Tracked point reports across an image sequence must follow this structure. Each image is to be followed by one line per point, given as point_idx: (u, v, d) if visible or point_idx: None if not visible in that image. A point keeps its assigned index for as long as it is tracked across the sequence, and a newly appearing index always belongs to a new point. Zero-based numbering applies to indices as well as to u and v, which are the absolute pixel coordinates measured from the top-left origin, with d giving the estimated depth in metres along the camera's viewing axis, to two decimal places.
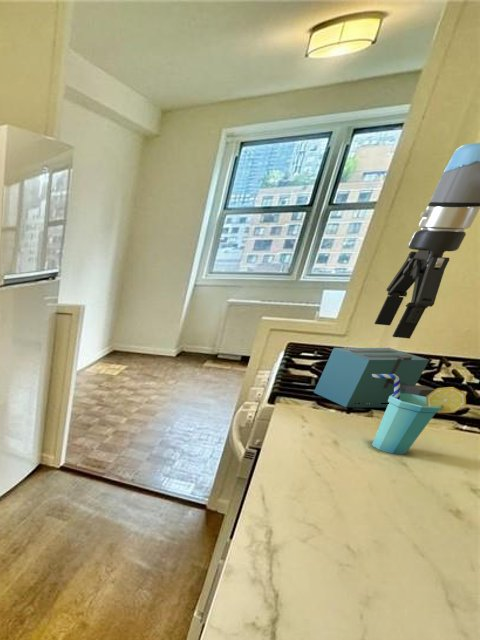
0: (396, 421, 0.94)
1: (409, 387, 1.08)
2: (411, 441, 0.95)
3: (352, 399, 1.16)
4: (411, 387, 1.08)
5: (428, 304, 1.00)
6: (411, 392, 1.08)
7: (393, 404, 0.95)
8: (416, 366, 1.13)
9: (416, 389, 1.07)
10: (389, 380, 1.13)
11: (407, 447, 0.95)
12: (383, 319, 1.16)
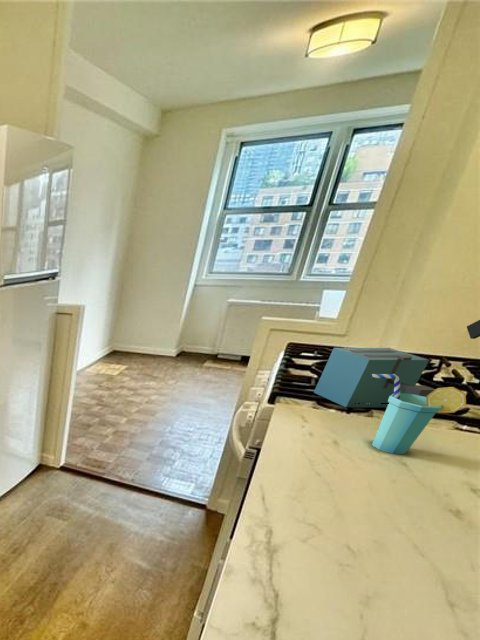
0: (395, 421, 0.94)
1: (409, 387, 1.08)
2: (411, 441, 0.95)
3: (352, 399, 1.16)
4: (411, 387, 1.08)
5: None
6: (411, 392, 1.08)
7: (393, 404, 0.95)
8: (416, 366, 1.13)
9: (416, 389, 1.07)
10: (389, 380, 1.13)
11: (407, 447, 0.95)
12: None
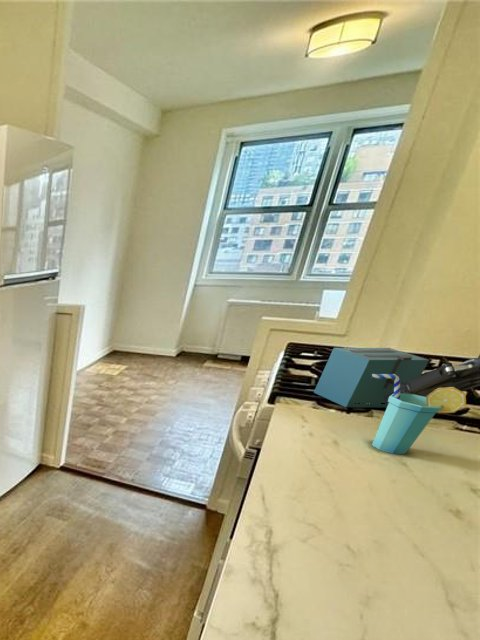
0: (395, 421, 0.94)
1: None
2: (411, 441, 0.95)
3: (352, 399, 1.16)
4: None
5: None
6: None
7: (393, 404, 0.95)
8: (416, 366, 1.13)
9: None
10: (389, 380, 1.13)
11: (407, 447, 0.95)
12: None
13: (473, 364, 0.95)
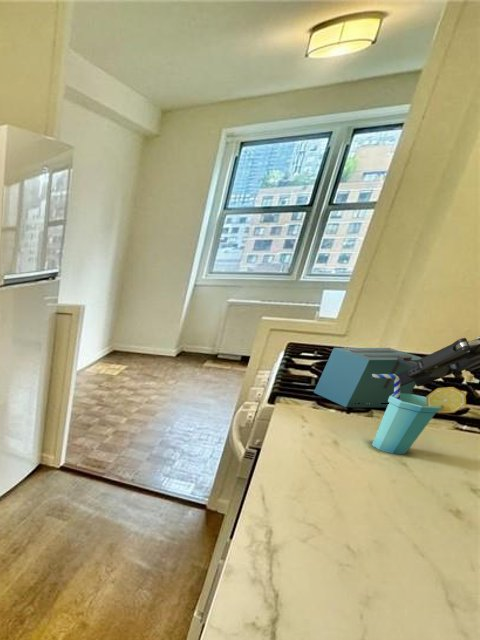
0: (396, 421, 0.94)
1: None
2: (411, 441, 0.95)
3: (352, 399, 1.16)
4: None
5: None
6: None
7: (393, 404, 0.95)
8: None
9: None
10: (400, 359, 1.11)
11: (407, 447, 0.95)
12: None
13: None
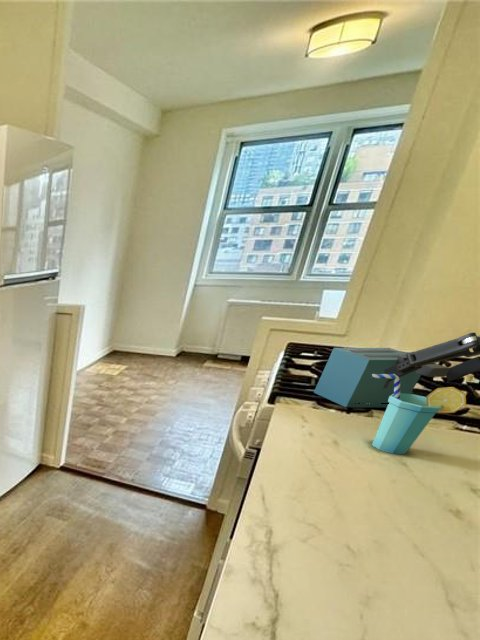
0: (396, 421, 0.94)
1: None
2: (411, 441, 0.95)
3: (352, 399, 1.16)
4: None
5: None
6: (423, 370, 1.05)
7: (393, 404, 0.95)
8: None
9: (428, 367, 1.04)
10: (400, 359, 1.11)
11: (407, 447, 0.95)
12: None
13: None
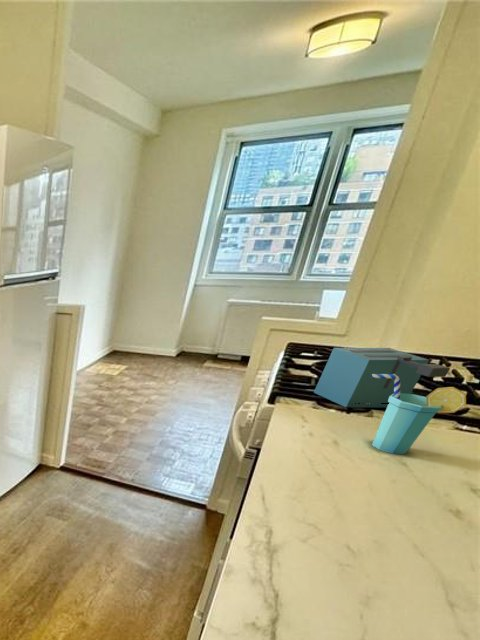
0: (396, 421, 0.94)
1: (421, 366, 1.06)
2: (411, 441, 0.95)
3: (352, 399, 1.16)
4: (423, 365, 1.05)
5: None
6: (423, 370, 1.05)
7: (393, 404, 0.95)
8: None
9: (428, 367, 1.04)
10: (400, 359, 1.11)
11: (407, 447, 0.95)
12: None
13: None
